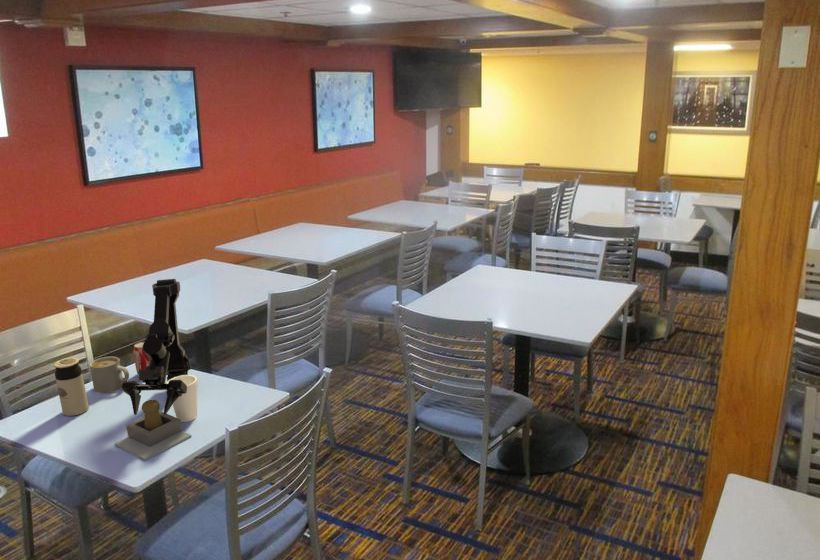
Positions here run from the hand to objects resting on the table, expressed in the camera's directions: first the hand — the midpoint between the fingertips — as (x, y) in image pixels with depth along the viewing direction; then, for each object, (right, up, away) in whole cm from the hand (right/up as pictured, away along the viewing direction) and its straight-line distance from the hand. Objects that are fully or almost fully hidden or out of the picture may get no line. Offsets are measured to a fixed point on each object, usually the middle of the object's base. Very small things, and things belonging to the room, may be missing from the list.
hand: (149, 414), depth 204 cm
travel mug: (-33, -3, +22) cm, 40 cm away
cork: (0, -7, +4) cm, 8 cm away
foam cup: (+7, -4, +15) cm, 16 cm away
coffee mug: (-28, +2, +38) cm, 47 cm away
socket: (+1, -8, +1) cm, 8 cm away
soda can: (-20, +5, +49) cm, 53 cm away
